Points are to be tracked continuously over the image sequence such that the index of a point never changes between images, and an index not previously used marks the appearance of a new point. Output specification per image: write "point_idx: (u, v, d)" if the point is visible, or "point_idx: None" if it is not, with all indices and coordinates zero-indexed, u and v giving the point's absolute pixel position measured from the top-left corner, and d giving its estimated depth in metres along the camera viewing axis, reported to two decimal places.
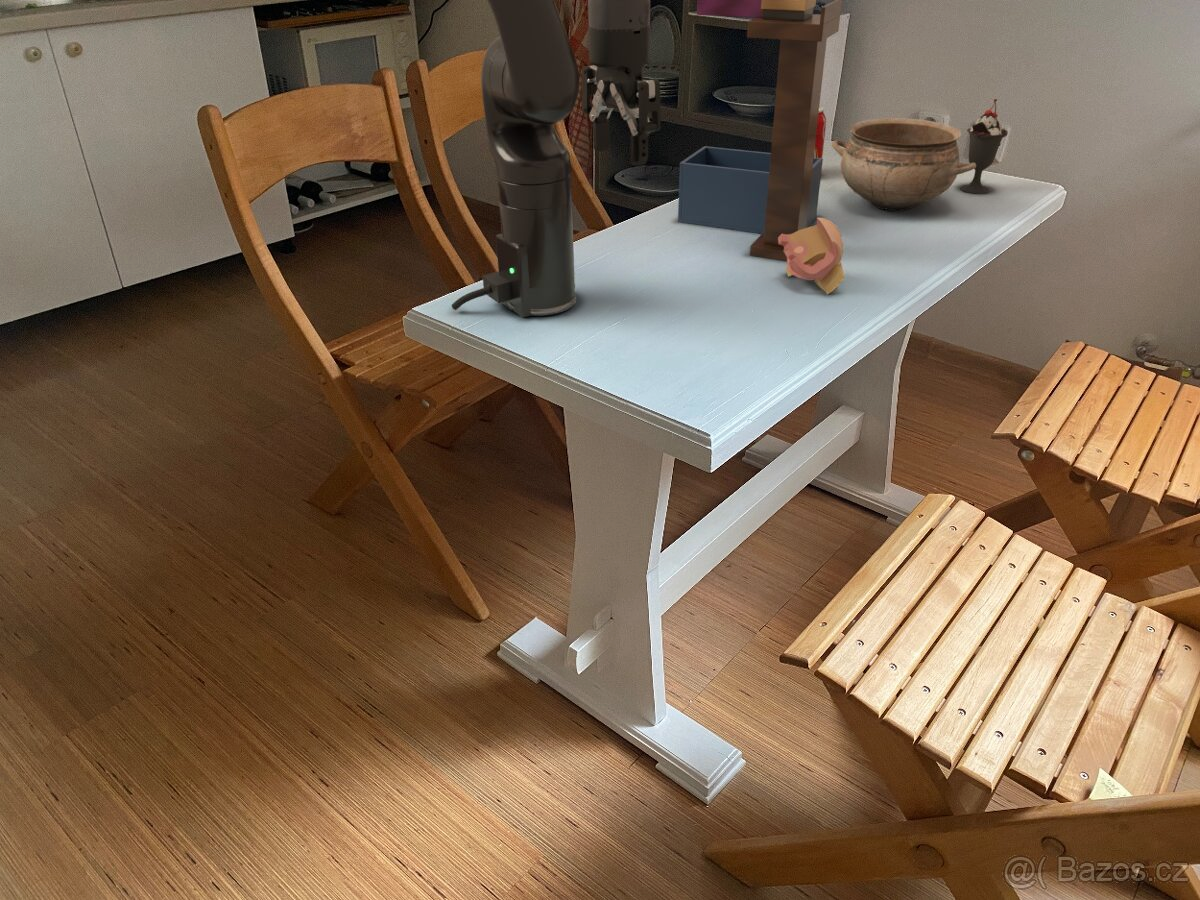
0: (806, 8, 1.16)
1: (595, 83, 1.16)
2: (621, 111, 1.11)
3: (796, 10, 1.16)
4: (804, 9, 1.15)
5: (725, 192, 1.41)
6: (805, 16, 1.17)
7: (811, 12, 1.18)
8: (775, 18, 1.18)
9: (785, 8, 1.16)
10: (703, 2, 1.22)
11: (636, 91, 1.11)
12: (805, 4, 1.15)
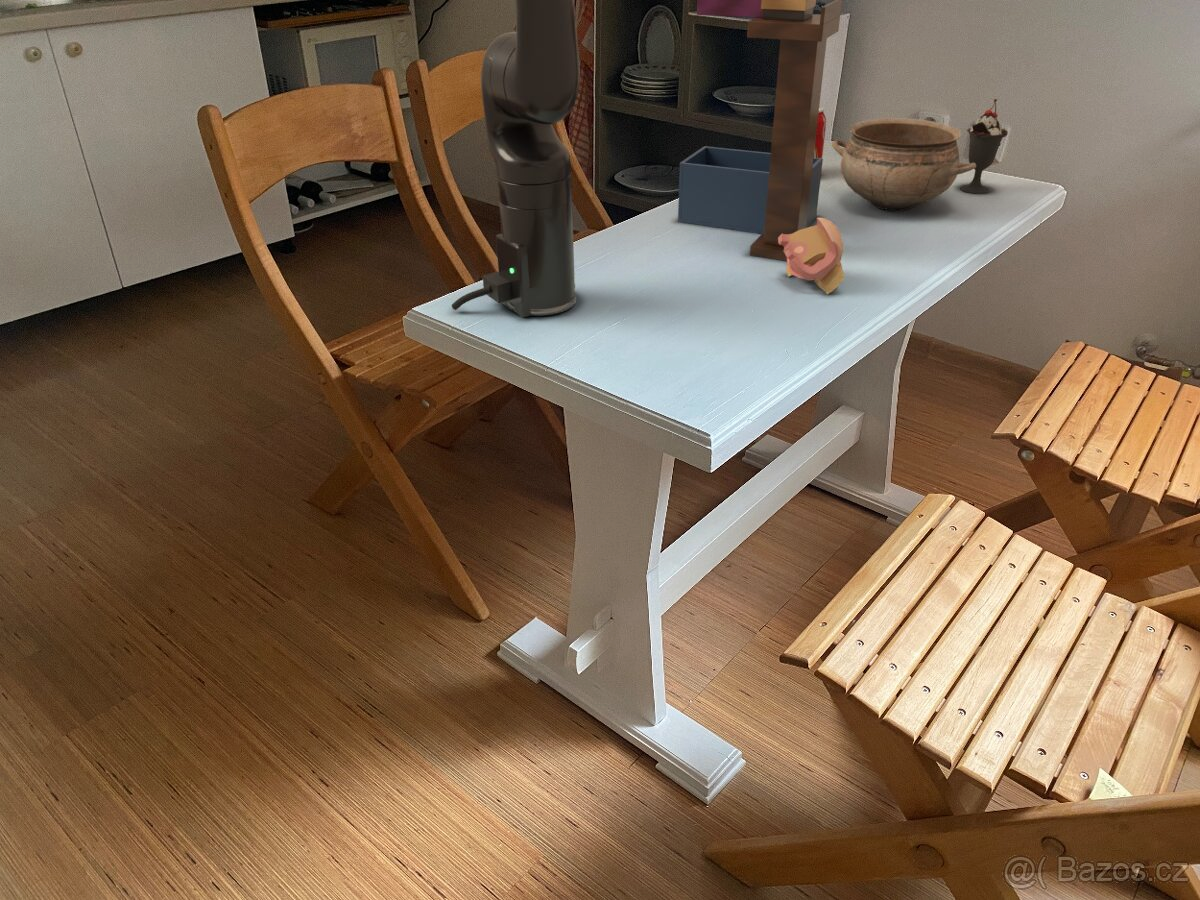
0: (806, 8, 1.16)
1: None
2: None
3: (796, 10, 1.16)
4: (804, 9, 1.15)
5: (725, 192, 1.41)
6: (805, 16, 1.17)
7: (811, 12, 1.18)
8: (775, 18, 1.18)
9: (785, 8, 1.16)
10: (703, 2, 1.22)
11: None
12: (805, 4, 1.15)
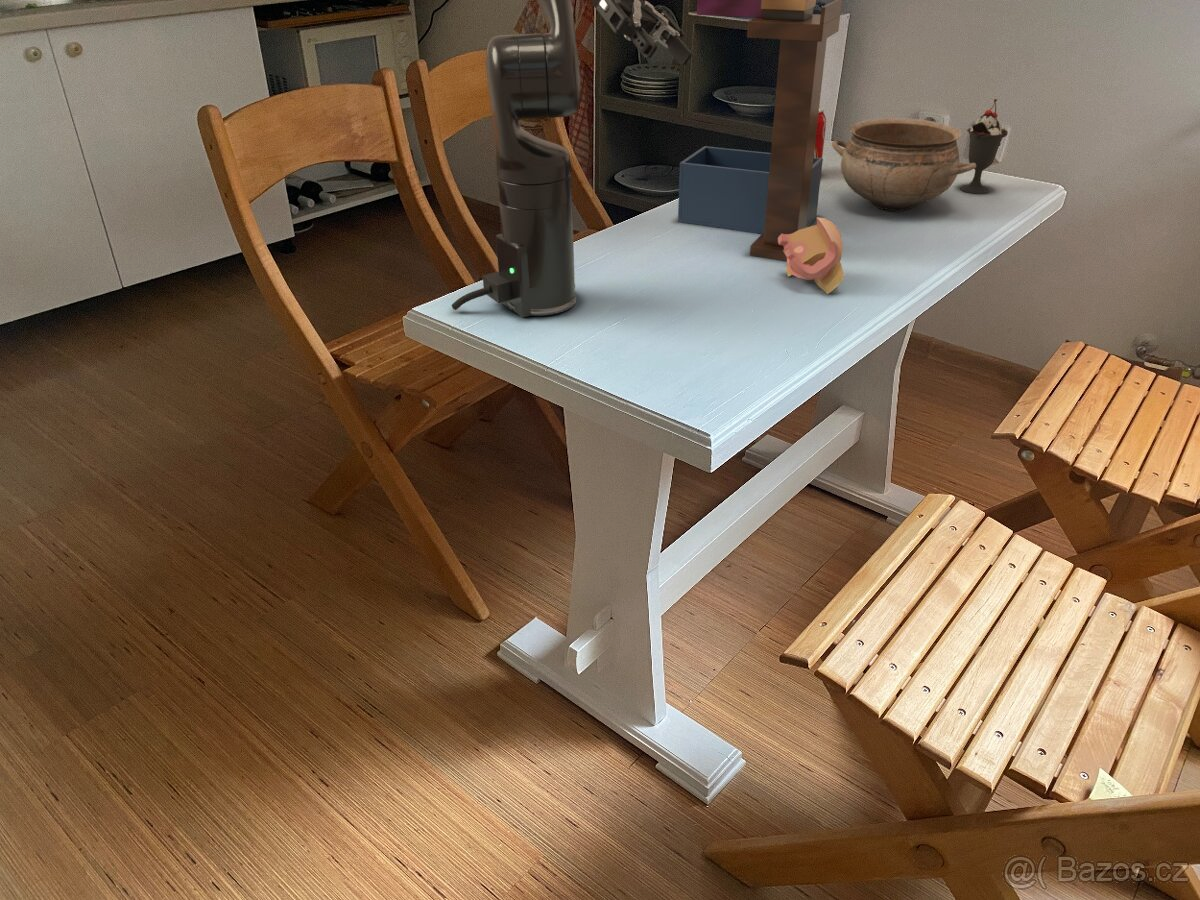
0: (806, 8, 1.16)
1: (656, 23, 1.32)
2: None
3: (796, 10, 1.16)
4: (804, 9, 1.15)
5: (725, 192, 1.41)
6: (805, 16, 1.17)
7: (811, 12, 1.18)
8: (775, 18, 1.18)
9: (785, 8, 1.16)
10: (703, 2, 1.22)
11: None
12: (805, 4, 1.15)
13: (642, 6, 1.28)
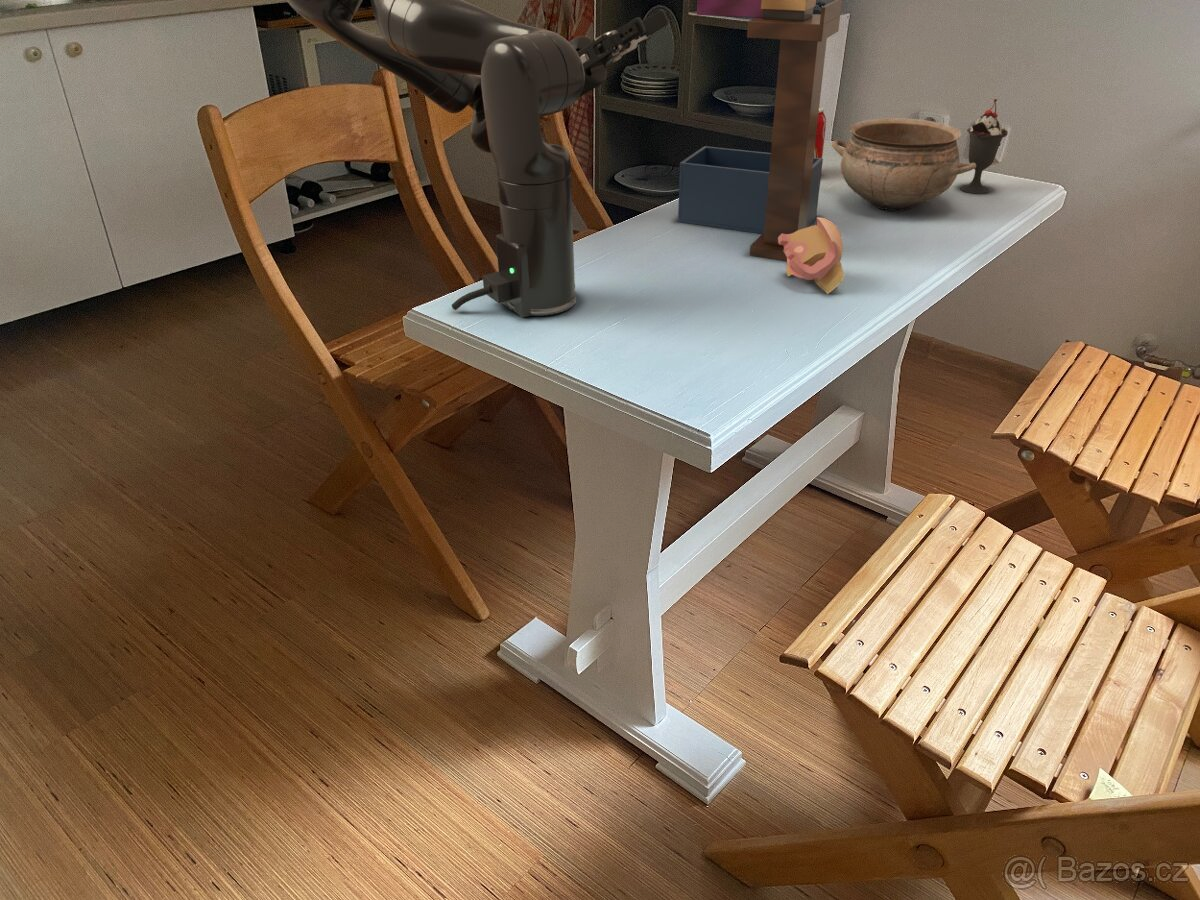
0: (806, 8, 1.16)
1: None
2: (615, 56, 1.29)
3: (796, 10, 1.16)
4: (804, 9, 1.15)
5: (725, 192, 1.41)
6: (805, 16, 1.17)
7: (811, 12, 1.18)
8: (775, 18, 1.18)
9: (785, 8, 1.16)
10: (703, 2, 1.22)
11: None
12: (805, 4, 1.15)
13: None
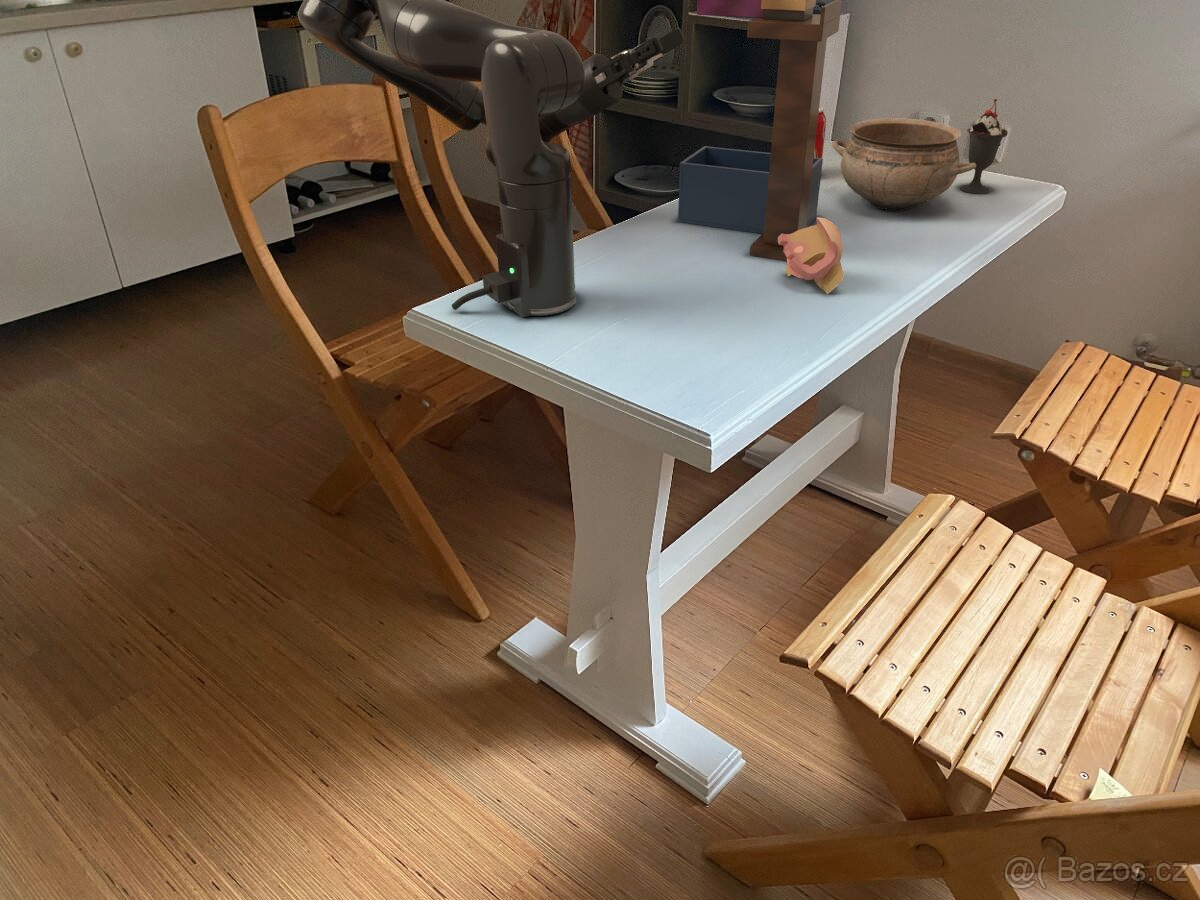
0: (806, 8, 1.16)
1: None
2: (632, 75, 1.29)
3: (796, 10, 1.16)
4: (804, 9, 1.15)
5: (725, 192, 1.41)
6: (805, 16, 1.17)
7: (811, 12, 1.18)
8: (775, 18, 1.18)
9: (785, 8, 1.16)
10: (703, 2, 1.22)
11: None
12: (805, 4, 1.15)
13: None
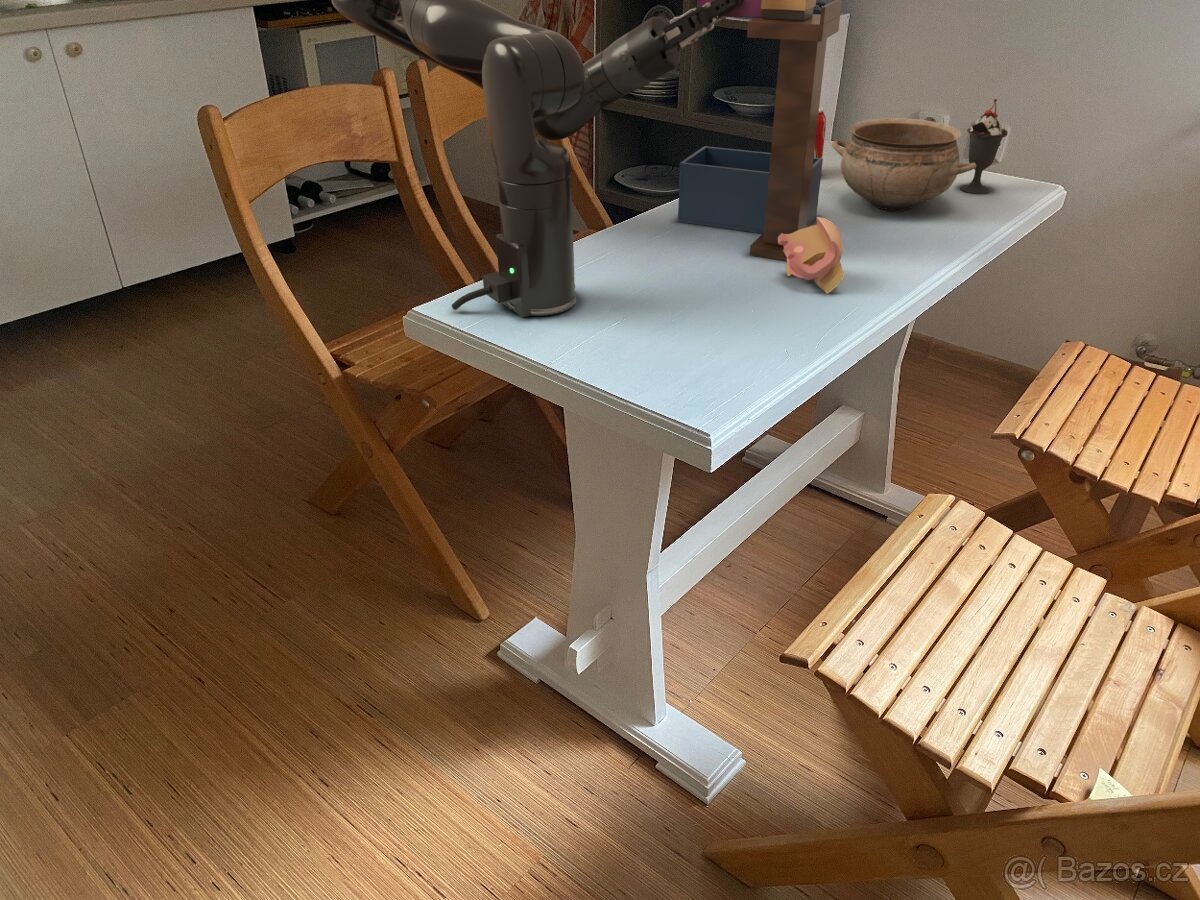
0: (806, 8, 1.16)
1: None
2: (693, 38, 1.23)
3: (796, 10, 1.16)
4: (804, 9, 1.15)
5: (725, 192, 1.41)
6: (805, 16, 1.17)
7: (811, 11, 1.18)
8: (775, 18, 1.18)
9: (785, 8, 1.16)
10: (703, 2, 1.22)
11: None
12: (805, 4, 1.15)
13: None
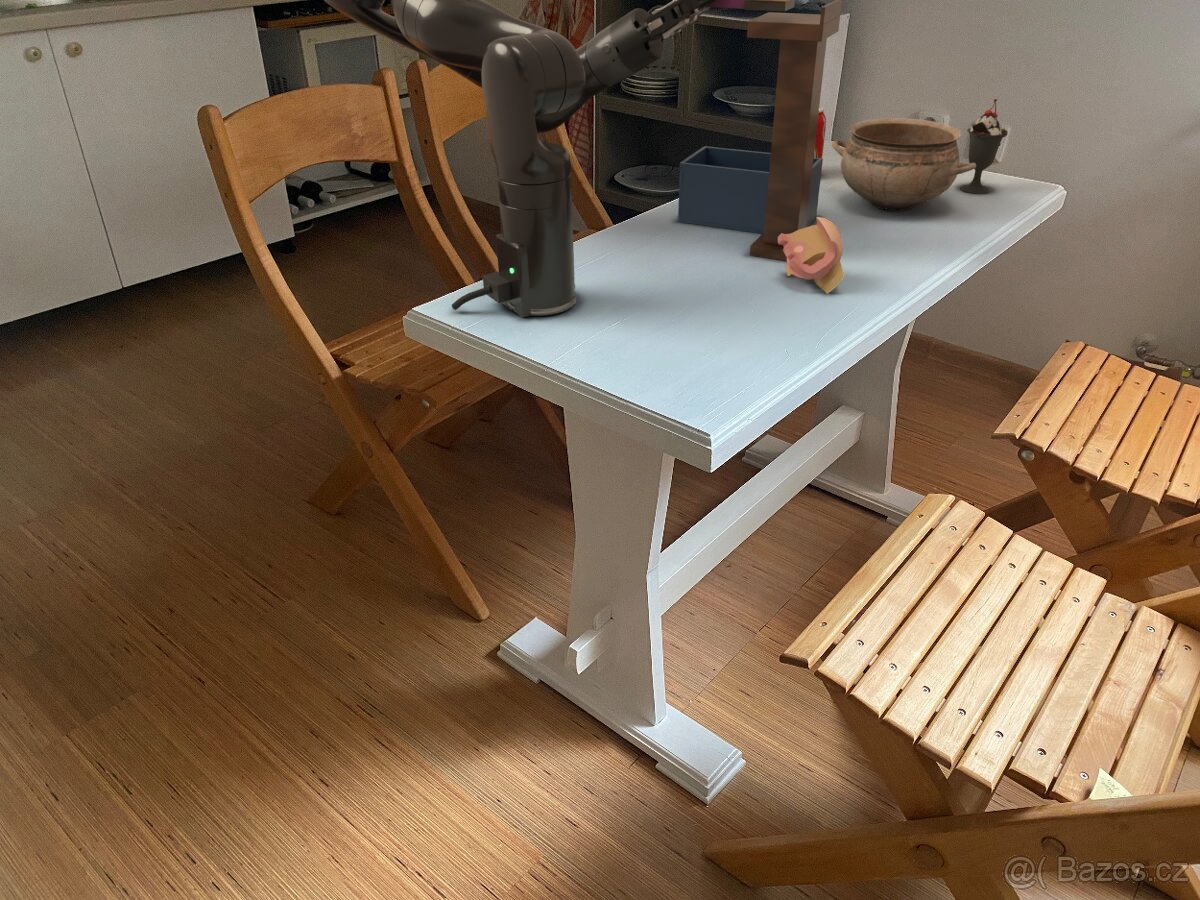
0: None
1: None
2: (676, 29, 1.23)
3: (777, 1, 1.16)
4: (785, 0, 1.16)
5: (725, 192, 1.41)
6: (786, 7, 1.17)
7: (792, 2, 1.19)
8: (757, 9, 1.18)
9: None
10: None
11: None
12: None
13: None
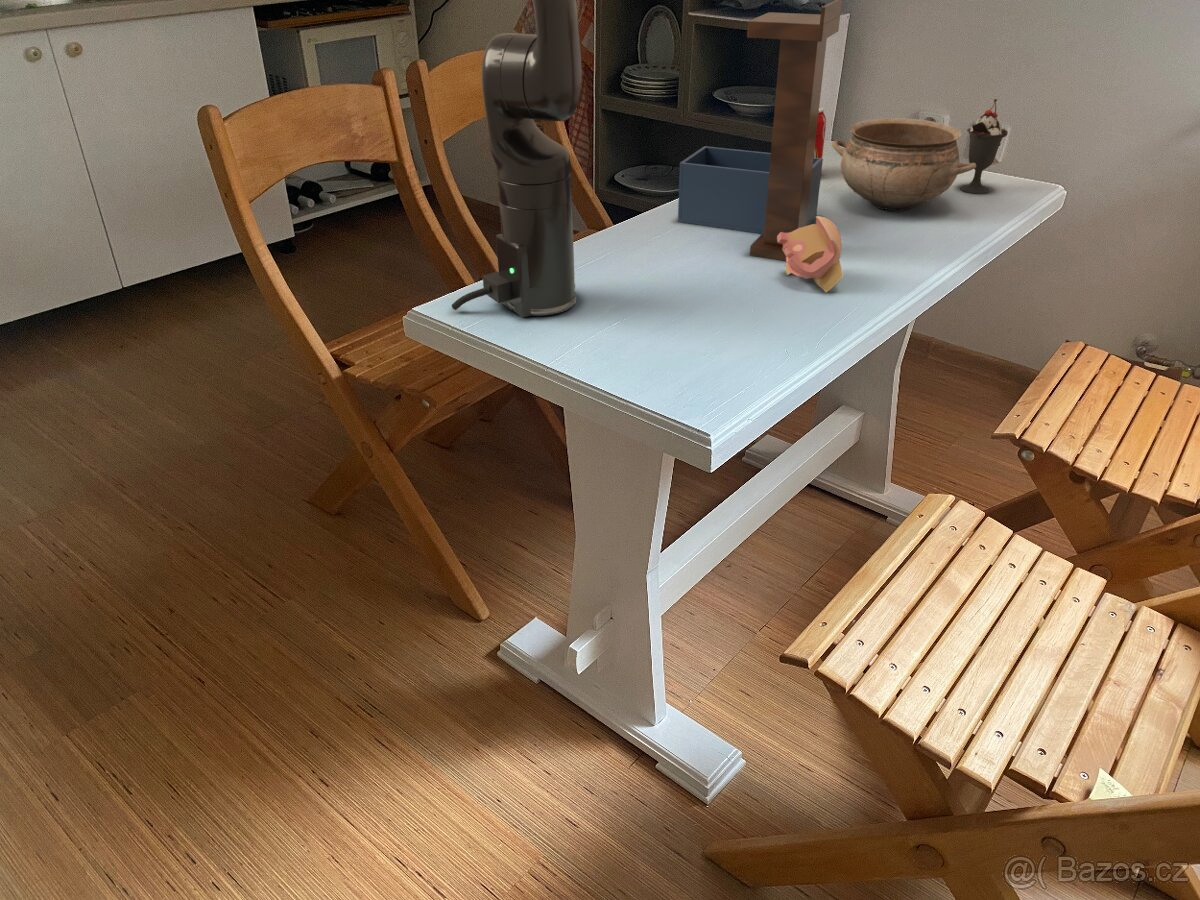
0: None
1: None
2: None
3: None
4: None
5: (725, 192, 1.41)
6: None
7: None
8: None
9: None
10: None
11: None
12: None
13: None
